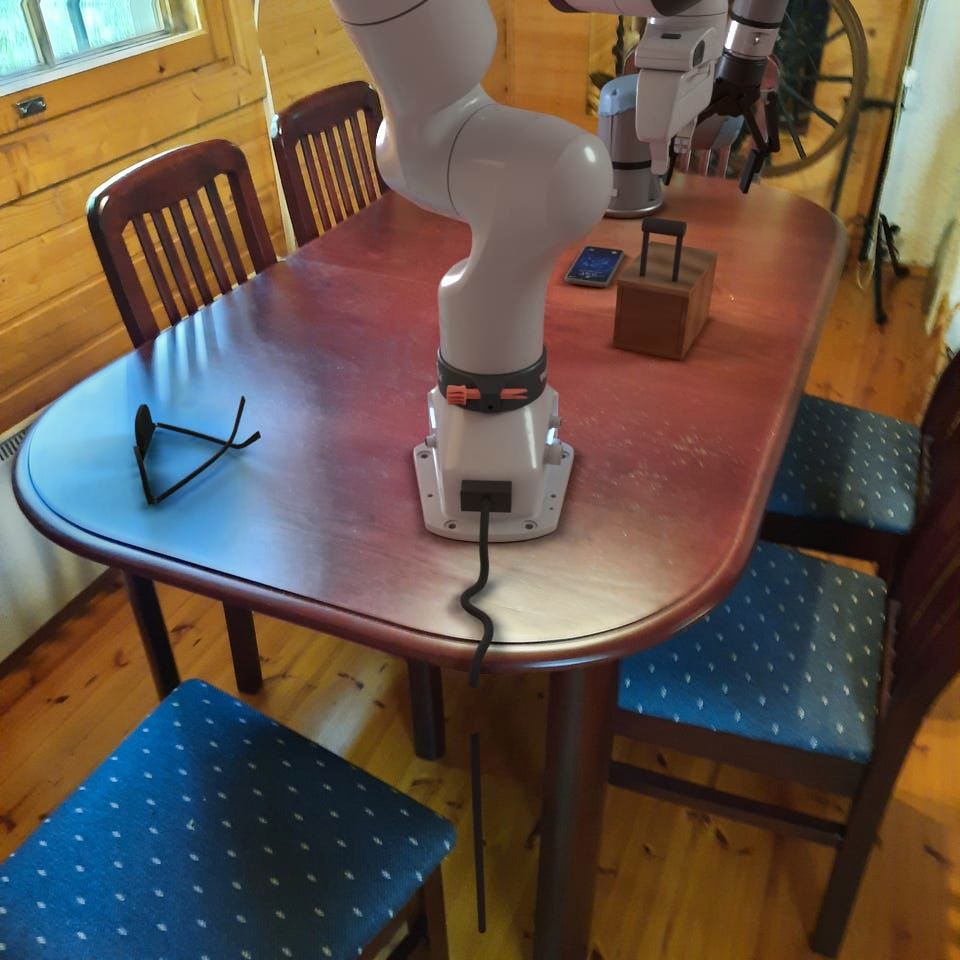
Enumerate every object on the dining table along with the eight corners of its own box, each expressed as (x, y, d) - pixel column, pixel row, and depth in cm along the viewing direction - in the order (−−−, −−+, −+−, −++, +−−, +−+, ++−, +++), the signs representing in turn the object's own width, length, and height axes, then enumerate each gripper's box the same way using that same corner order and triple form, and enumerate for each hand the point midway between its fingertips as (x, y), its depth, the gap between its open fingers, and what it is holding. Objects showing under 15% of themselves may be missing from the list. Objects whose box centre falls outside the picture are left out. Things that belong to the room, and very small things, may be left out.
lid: (688, 298, 112) (697, 232, 107) (616, 285, 116) (621, 220, 111) (717, 257, 123) (726, 195, 118) (650, 246, 127) (656, 186, 121)
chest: (680, 360, 118) (689, 297, 113) (612, 346, 122) (617, 284, 116) (708, 318, 129) (717, 257, 123) (644, 306, 132) (650, 247, 127)
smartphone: (626, 249, 148) (607, 284, 137) (625, 255, 149) (607, 289, 137) (584, 244, 150) (562, 278, 139) (584, 249, 151) (562, 283, 139)
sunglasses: (270, 486, 97) (262, 449, 94) (137, 510, 94) (125, 474, 91) (257, 411, 110) (250, 377, 107) (140, 430, 107) (130, 396, 104)
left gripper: (682, 22, 107) (670, 138, 115) (629, 53, 92) (619, 182, 100) (733, 25, 104) (717, 143, 113) (687, 57, 90) (672, 189, 98)
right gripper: (670, 50, 126) (636, 188, 140) (831, 69, 128) (781, 203, 143) (661, 35, 131) (628, 169, 146) (815, 53, 134) (768, 184, 148)
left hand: (671, 162), depth 106 cm, fingers open, 8 cm apart
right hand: (704, 186), depth 144 cm, fingers open, 13 cm apart
